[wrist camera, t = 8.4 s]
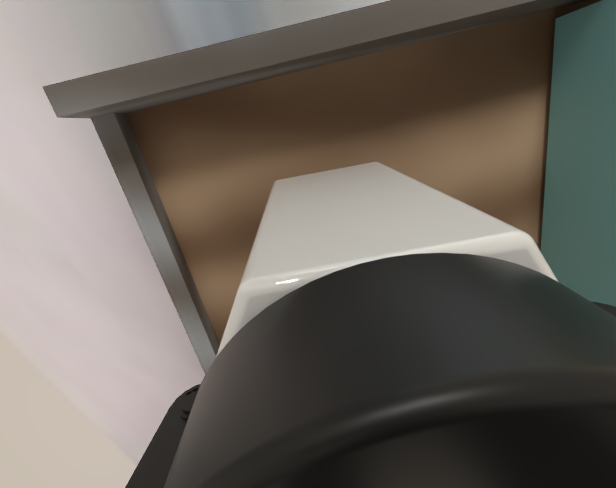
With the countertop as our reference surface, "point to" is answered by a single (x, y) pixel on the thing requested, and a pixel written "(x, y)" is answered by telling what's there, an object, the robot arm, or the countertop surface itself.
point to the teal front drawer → (322, 127)
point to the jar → (400, 352)
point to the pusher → (583, 154)
